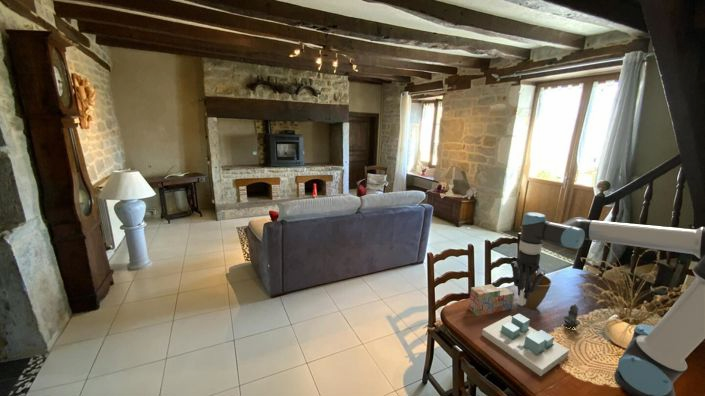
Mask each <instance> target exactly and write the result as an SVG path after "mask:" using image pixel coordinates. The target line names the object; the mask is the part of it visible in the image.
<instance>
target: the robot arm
mask: <svg viewBox="0 0 705 396" xmlns="http://www.w3.org/2000/svg"><path fill="white" fill-rule="evenodd" d="M585 240H587V241H595V242H601V243H603V242H604V243H610V244H617V245H624V246H631V247H632V246H633V247H640V248H647V249H652V250H653V249H654V250H661V251H666V252H667V251H668V252H675V253H683V254H688V255H689V254H690V255H694V256H695V257H696V258H698V259H700V260H699V261H698V263H697V264H695V266H694V267H693V269H692V272H693V274H694V276H695V279H694V280H693V281H692V282H691V284H690V285H689V286H688V287H687V288H686V289H685V290H684V292H683V293H682V294H681V295H680V296H679V297H678V299H677V300H676V301H675V302H674V303H673V305H671V307H670V308H669V310H668V311H667V312H666V313H665V314H664V315H663V316H662V318H661V319H660V320H659V321H658V322H657V323H656V324H655V326H654V325H649V324H643V323H642V324H641V323H639V324H637V325H636V326H635V328H634V329H633V334H632V337H631V340H630V341H629V343H628V344H627V347H626V348H625V350H624V352H623V353H622V355H621V356H620V357H619V358H618V363H617V367H616V368H615V372H614V375H613V376H614V379H615V381H616V382H617V384H618V385H619V386H620V387H621V389H623V390H624V391H625V392H627V393H628V394H629V395H631V396H676V392H675V388H674V383H675V381H676V380H677V379H678V378H680V376H681V375H683V373H684V372H685V371H686V370H687V369H688V364H687V362H686V358H688V357H689V355H691V353H692V352H693V351H694V350H695V349H696V348H697V347H698V346H699V345H700V344H701V343H702V342H703V341H704V340H705V226H700V227H698V228H696V229H693V228H691V229H690V228H681V227H669V226H661V225H660V226H659V225H647V224H639V223H637V224H636V223H628V222H627V223H625V222H616V221H614V222H613V221H603V220H602V221H601V220H590V219H587V218H584V217H581V216H578V217H577V216H576V217H572V218H569V219H568V220H566V221H564V222H562V223H557V222H551V221H548V220H547V217H546V214H543V213H540V212H532V211H531V212H525V213H524V214H523V218H522V223H521V230H520V237H519V245H518V253H517V259H516V261H515V260H514V261H511V262H510V263H509V264H510V266H511V269H512V278H513V279H512V280H513V285H514V286H515V287H517V296H518V298H519V299H518V306H519V305H520V306H521V307H524V306H523V305H525V304H526V299H528V298H529V294H530V293H532V292H534V291H535V290H536V288H537V286H538V284H539V282H540V280H541V278H542V277H543V276H546V272H544V271H542V270H541V269H540V260H541V252H542V247H543V242H548V243H552V244H555V245H559V246H562V247H565V248H571V249H574V250H575V249H577V250H578V249H580V248H581V247H582V246H583V243H584V241H585ZM519 271H520V272H519ZM535 272H537V274H536V275H537V276H536V277H535V279H534V281H533V283H532V277H533V275H534V273H535ZM519 273H520V277H519ZM525 278H526V282H525ZM531 284H532V286H531ZM524 285H525V288H524ZM523 288H524V289H523ZM519 296H520V297H519Z"/></svg>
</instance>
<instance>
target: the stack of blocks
mask: <svg viewBox="0 0 705 396" xmlns="http://www.w3.org/2000/svg"><path fill="white" fill-rule="evenodd" d="M514 295H515V293H514V292H513V291H512V290H510V289H509V288H508V287H505V286H503V287H496V286H494V285H493V284H492V283H491V284H485V285H480V286H474V287H473V286H472V287H471V288H470V295H469V302H468V310H469V311H471V312H472V313H473V314H474V315H475V316H476V317H478V316H483V315H490V314H495V313H499V312H503V311H509V309H510V310H512V309H513V303H514V297H515V296H514Z"/></svg>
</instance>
